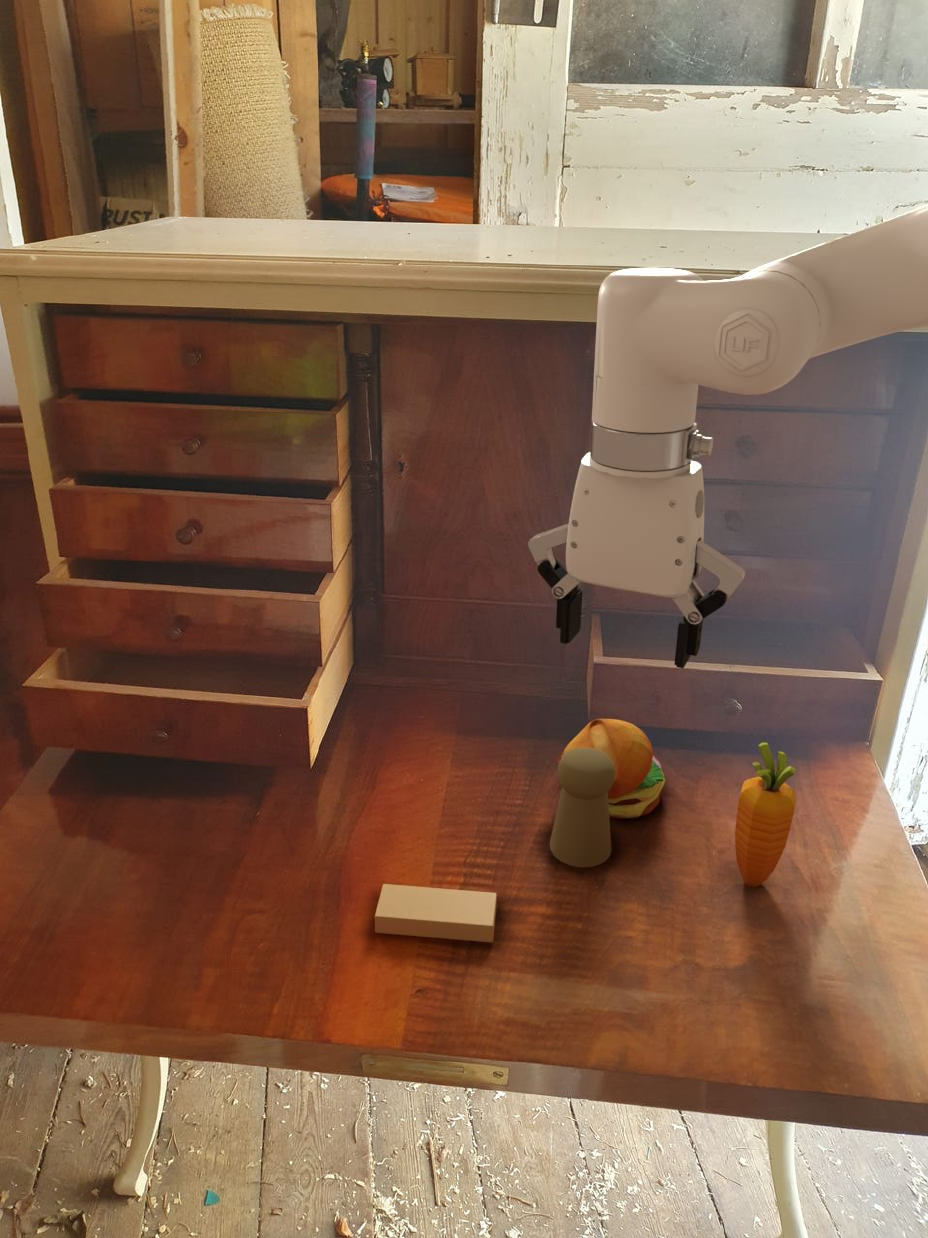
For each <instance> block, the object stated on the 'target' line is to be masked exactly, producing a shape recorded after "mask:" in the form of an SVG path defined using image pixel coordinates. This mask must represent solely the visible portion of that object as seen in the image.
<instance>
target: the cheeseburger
mask: <svg viewBox="0 0 928 1238" xmlns="http://www.w3.org/2000/svg"><path fill="white" fill-rule="evenodd" d="M580 747H588V748H594V749H597V750H600V751H602V752H604V753H605V754H607V755H608V756H609V758H610V759H611V761H612V762H613V765H614V769H615V778H614V781H613V784H612V787H611V788H610V789H609V791H608V807H609V818H612V819H617V820H623V819H636V818H639V817H642V816H644V815H645V816H646V815H647V814H650V813H651V812H652V811H654V809H655V808H656V807H657V806H658V805H659V804H660V801H661V796H662V792H663V787H664V786H665V783H666V777H665V774H664V773H663V769H662V765H661V762H660V761H659V760H658V759H657V758H656V757H655V756H654V753H653V747H652V743H651V741H650V739H649V738H648V736H647V735H646V733H645V732H644V731H643V730H642V729H640V728H639V727H638V726H636V725H635V724H633V723H631V722H628V721H625V720H621V719H616V718H615V719H614V718H596V719H593V720H592V721H590V722H589V723H587V724H586V725H585V727H584V728H582V729H581V730H580V731H579V733H578V734H577V735H575V737H574V738H573V739H572V740H571V741H569V743H568V744H567V746H566V747H565V748H564V750H563V752H562V755H559V756H558V757H557V763H558V764H559V763H560V760H561V758H562V757H563V756H564V755H565V754H566V753H567V752H568V751H570V750H572V749H575V748H580Z"/></svg>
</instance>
